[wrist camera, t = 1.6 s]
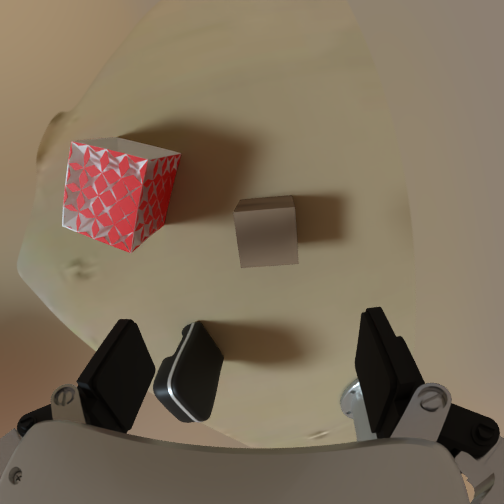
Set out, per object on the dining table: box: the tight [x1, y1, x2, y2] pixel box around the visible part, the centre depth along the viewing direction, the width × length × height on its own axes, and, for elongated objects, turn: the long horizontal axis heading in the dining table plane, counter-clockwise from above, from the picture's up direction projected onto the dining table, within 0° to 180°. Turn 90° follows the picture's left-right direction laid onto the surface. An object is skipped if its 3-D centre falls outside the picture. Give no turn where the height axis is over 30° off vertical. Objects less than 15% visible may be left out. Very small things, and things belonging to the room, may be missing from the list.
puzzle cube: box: [62, 137, 181, 253], centre depth 24 cm, size 8×8×8 cm
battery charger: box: [153, 322, 224, 423], centre depth 30 cm, size 7×4×11 cm, turn 25°
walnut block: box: [233, 195, 298, 268], centre depth 26 cm, size 5×5×5 cm
